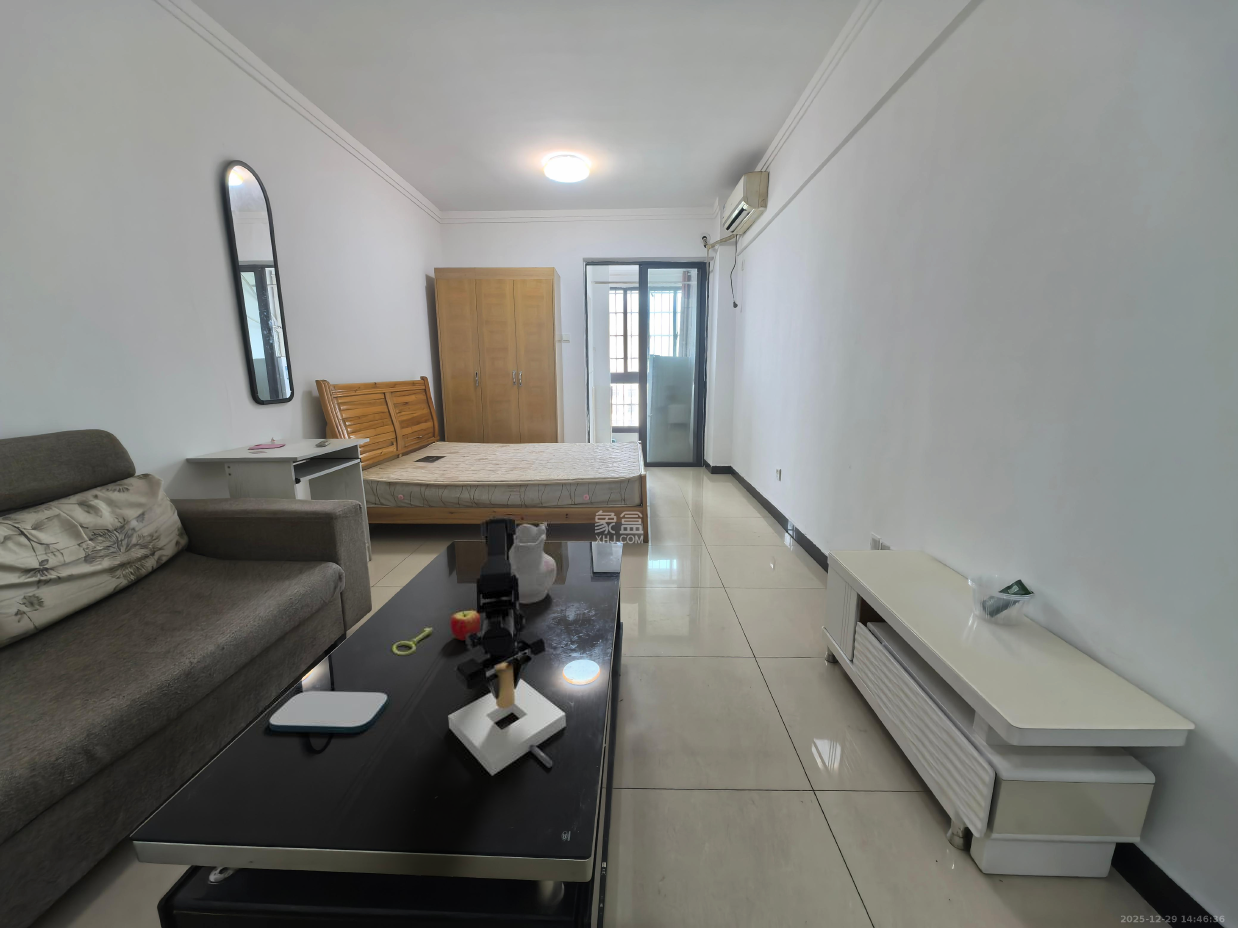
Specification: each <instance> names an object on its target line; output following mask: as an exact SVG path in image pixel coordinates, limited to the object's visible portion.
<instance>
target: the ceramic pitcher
mask: <svg viewBox="0 0 1238 928" xmlns="http://www.w3.org/2000/svg"><path fill="white" fill-rule="evenodd" d="M538 525H539V526H538V527H536V526H534V525H532V524H527V523H523V524H520V525H519V526H518V527H516V535H514V545H513V546H512V548H511V550H510V551H509V557H510V563H511V569H512V573H515V575H516V577H517V578H518V583H519V601H518V603H519V604H528V605H529V604H532V603H537V602H540V601H543V600H544V598H545V597H546V596H547V593H548V590H549V589H550V588H551V587H552V586H553V583H554V582H555V580H556V577H557V563H556V561H555V559H553V558H552V557H551V556H549V555H548V554H546V553H545V552H544V545H545V542H546V539H547V529H546V523H542V524H541V523H538Z"/></svg>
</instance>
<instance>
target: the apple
mask: <svg viewBox="0 0 1238 928" xmlns="http://www.w3.org/2000/svg"><path fill="white" fill-rule="evenodd" d="M458 610H459V611H460V612H456V613H455V614H453V615H452V616H451V618H450V624H449V625H450V630H451V633H452V634H453V636H454V637H455V638H456V639H457V640H460V641H466V635H467V634H469V633H472V632H476V633H478V632H480V631H479V630H480V629H481V628H480V627H481V616H480V613H479V614H477V610H464V611H463V609H461V608H458Z"/></svg>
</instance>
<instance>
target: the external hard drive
mask: <svg viewBox="0 0 1238 928" xmlns="http://www.w3.org/2000/svg"><path fill="white" fill-rule="evenodd" d="M388 705H389V696H388V695H387V694H386V693H384V692H374V691H372V692H371V691H369V692H367V691H331V690H330V691H329V690H328V691H326V690H324V691H323V690H310V691H304V692H300V693H298V694H296V695H294V696H292V697H291V698H290V699H288V700H287V701H286V702H285V703H284V704H283V705H282V706H281V707H279V708H278V710H276V711H275V712H274V713H273V714H272V715H271V717H270V718H269V720H268V725H269V729H271V731H272V730H273V731H276V732H286V733H287V732H291V733H292V732H294V733H326V734H328V733H329V734H355V733H356V734H357V733H361V732H363V731H366V730H368V729H369V728H371V727H372V726H373V725H374V724H375V722H376V721H377V720H378V719H379V718H380V717H381V715H382V713H383V712H384V711H385V710H386V708H387V707H388Z"/></svg>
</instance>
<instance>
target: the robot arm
mask: <svg viewBox="0 0 1238 928" xmlns="http://www.w3.org/2000/svg"><path fill="white" fill-rule="evenodd" d="M516 522H517V521H516V519H514V518H511V517H510V516H509V517H504V516H503V517H502V516H501V517H490V518H486V520H484V521H481V522H480V533H481V536H480V537H481V538H482V539H484V541H485V546H486V549H487V550H486V561H484V562H483V563H482V564H481V566H480V570H479V576H478V577H476V612H477V614H479V615H480V614H484V621H483V625H482V630H481V631H478V633H476V632H472V633H469V634H467V635H466V640H465V643H466V648H467V649H468V650H472V651H473V650H476V651H478V650H481V654H482V655H484V656H487V658H484V659H483V660H482V661H480V662H478V661H477V659H475V658H470V659H468V660H466V661H464V662H461V663H459V664H457V666H456V667H455V668H454V669H455V670H454V674H455V675H454V676H455V679H456V680H457V681H458V682H459V683H460V684H462V686H464V687H465V689H467V690H473V689H475V688H476V687H478V686H480V685H482V684H485V685H487V687H488V689H489V691H490V693H492V695H493V696H494V698H495V699H496V700H497V699H498V696H499V676H498V675H497V674H495V672H494V668H495V667H496V666H498V665H500V664H502V663H507V662H508V663H510V664H512V666H513V676H514V690H515V689H516V687H517V685H518V683H519V681H520V679H522V676H523V674H524V672H525V670H526V669H527V667H528V665H529V663H530V662H532V660H533V658H532V656H538V655H539V654H542V653H544V652H546V650H547V649H546V647H547V646H546V641H545V638H543V637H541V636H540V635H538V634H536V633H535V632H533V631H532V630H530V631H528V632H527V631H526V632H525V633H524V630H525V629H526V616H525V614H523V610H520V603H518V601H519V583H518V578H517V577H516V575H515V573H512V569H511V563H510V557H509V551H510V550H511V548H512V546H513V545H514V535H516V529H517V523H516ZM482 600H484V601H485V600H487V601H486V602H482ZM522 633H523V634H522ZM529 650H530V654H531V655H532V656H530V655H529Z"/></svg>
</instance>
